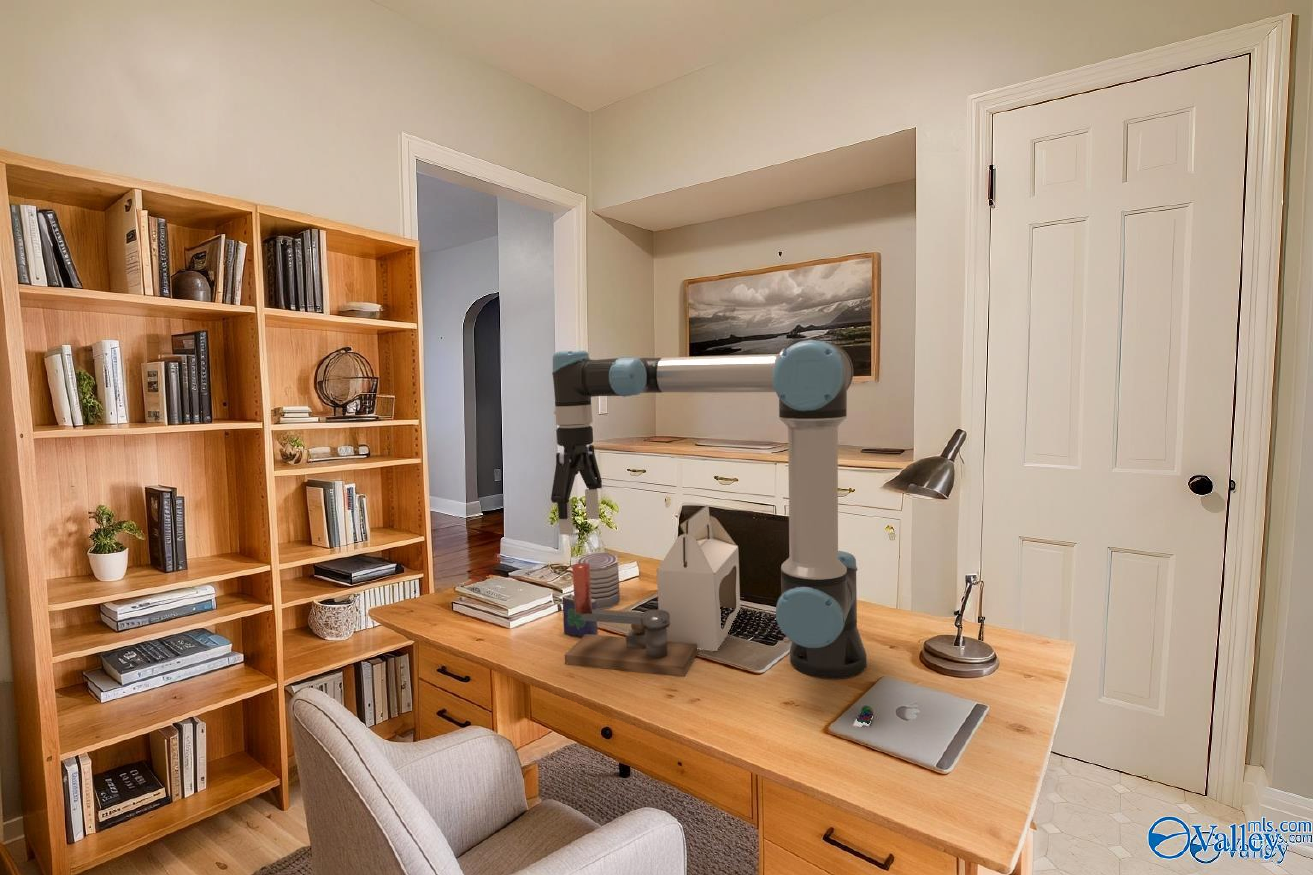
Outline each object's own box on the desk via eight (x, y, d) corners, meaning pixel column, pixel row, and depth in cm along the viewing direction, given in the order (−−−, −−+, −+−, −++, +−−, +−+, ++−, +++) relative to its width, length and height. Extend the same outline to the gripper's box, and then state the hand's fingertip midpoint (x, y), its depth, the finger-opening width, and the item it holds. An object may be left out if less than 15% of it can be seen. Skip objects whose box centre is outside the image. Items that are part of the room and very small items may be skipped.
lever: (673, 619, 138) (670, 565, 136) (665, 631, 132) (663, 574, 131) (581, 613, 144) (578, 560, 142) (570, 623, 138) (567, 569, 137)
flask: (600, 636, 152) (597, 591, 150) (593, 641, 149) (590, 595, 148) (568, 630, 156) (565, 586, 155) (560, 634, 154) (557, 590, 152)
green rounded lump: (856, 716, 114) (856, 703, 114) (873, 719, 112) (873, 706, 112) (850, 727, 110) (850, 714, 110) (868, 731, 109) (868, 718, 109)
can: (629, 600, 175) (627, 556, 173) (599, 613, 166) (597, 567, 164) (598, 592, 182) (596, 550, 180) (568, 604, 173) (566, 560, 172)
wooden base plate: (697, 652, 140) (696, 616, 140) (684, 676, 130) (682, 637, 129) (586, 642, 148) (584, 607, 148) (565, 663, 138) (562, 626, 137)
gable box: (689, 610, 166) (685, 501, 163) (740, 615, 161) (737, 503, 158) (659, 646, 145) (653, 522, 142) (717, 652, 140) (712, 525, 137)
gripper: (582, 420, 149) (587, 512, 151) (528, 432, 125) (536, 540, 128) (613, 420, 147) (617, 513, 149) (564, 431, 123) (571, 542, 125)
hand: (580, 526), depth 138 cm, fingers open, 13 cm apart
